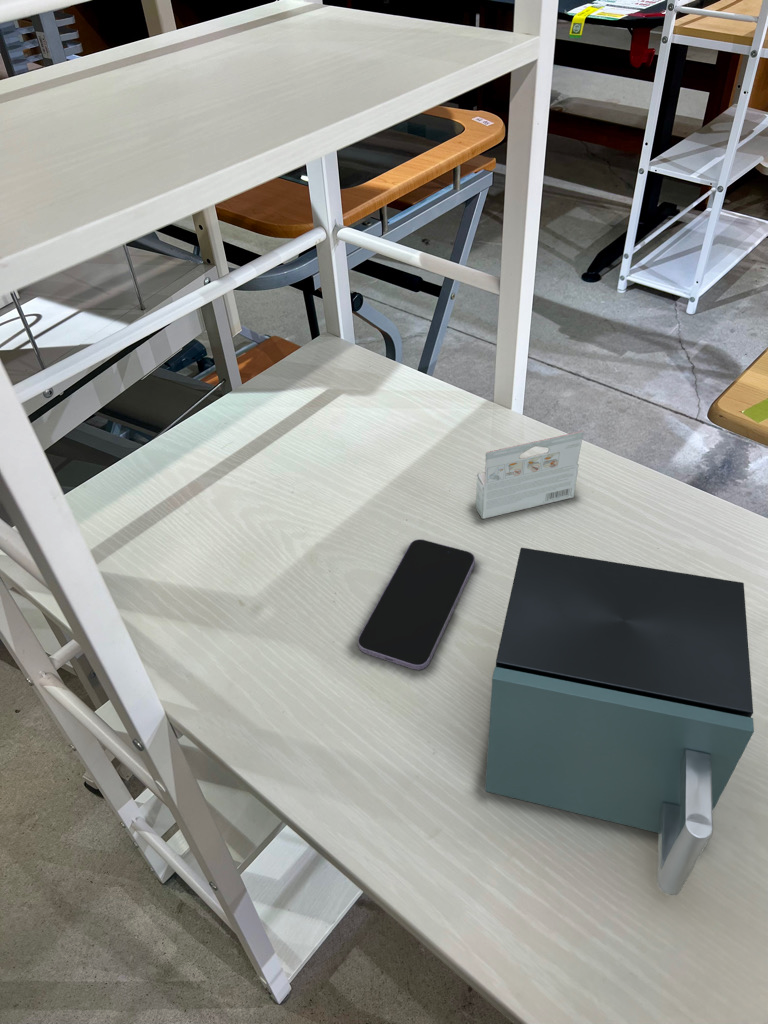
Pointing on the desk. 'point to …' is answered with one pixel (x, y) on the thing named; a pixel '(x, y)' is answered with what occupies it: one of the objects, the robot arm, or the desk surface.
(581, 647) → the black cabinet
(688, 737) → the door
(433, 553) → the smartphone
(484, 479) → the ink box
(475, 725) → the desk surface
